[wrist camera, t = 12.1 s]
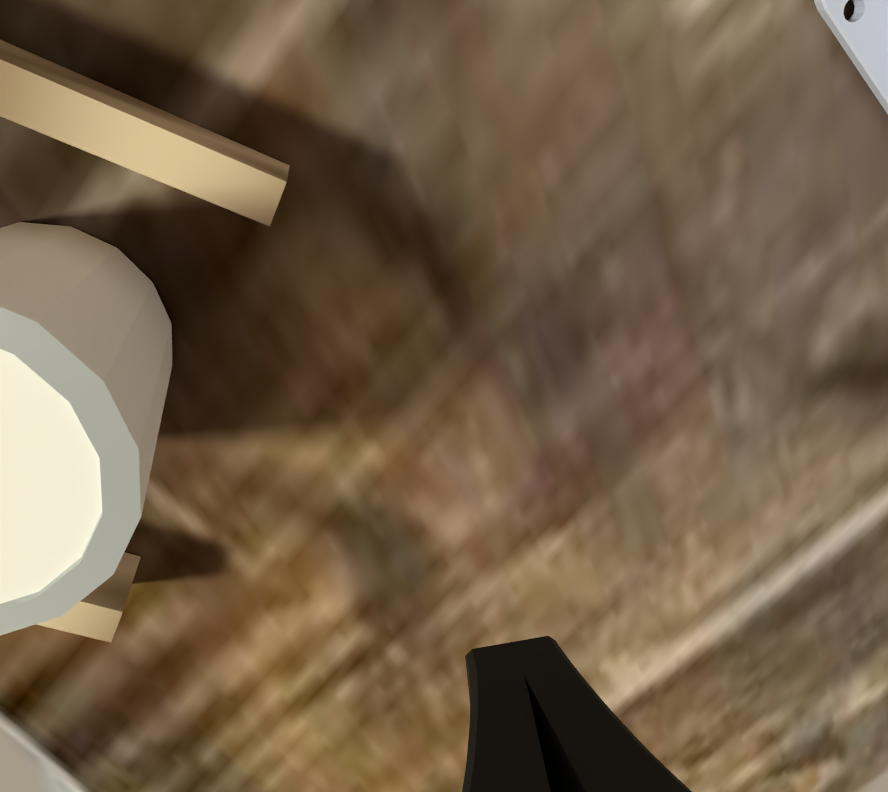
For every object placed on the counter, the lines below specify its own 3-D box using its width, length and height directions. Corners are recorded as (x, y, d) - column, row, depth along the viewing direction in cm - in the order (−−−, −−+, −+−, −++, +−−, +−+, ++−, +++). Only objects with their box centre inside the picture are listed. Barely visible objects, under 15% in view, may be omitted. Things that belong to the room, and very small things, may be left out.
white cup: (171, 485, 22) (107, 671, 15) (-113, 429, 20) (-314, 610, 14) (226, 241, 19) (176, 343, 13) (-91, 155, 18) (-323, 222, 11)
